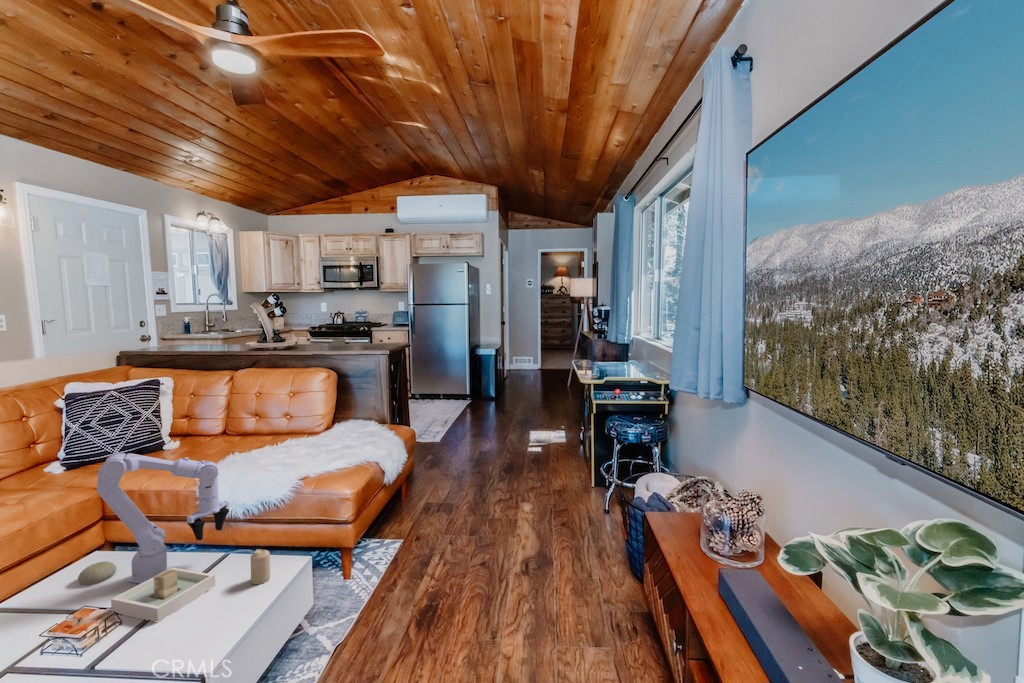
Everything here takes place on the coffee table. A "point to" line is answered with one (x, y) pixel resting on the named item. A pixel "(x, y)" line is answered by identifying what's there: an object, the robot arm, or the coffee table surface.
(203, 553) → the coffee table surface
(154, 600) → the tray
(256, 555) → the candle
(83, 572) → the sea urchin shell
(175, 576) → the peg
